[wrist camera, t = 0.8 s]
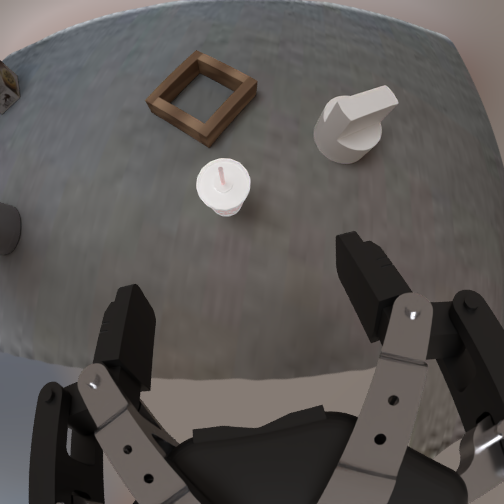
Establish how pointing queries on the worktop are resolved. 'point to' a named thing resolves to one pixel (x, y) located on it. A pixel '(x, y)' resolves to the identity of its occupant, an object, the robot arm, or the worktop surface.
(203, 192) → the beverage cup
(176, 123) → the walnut collar
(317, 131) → the cylinder with rectangular tab
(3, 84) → the coffee box
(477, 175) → the worktop surface
